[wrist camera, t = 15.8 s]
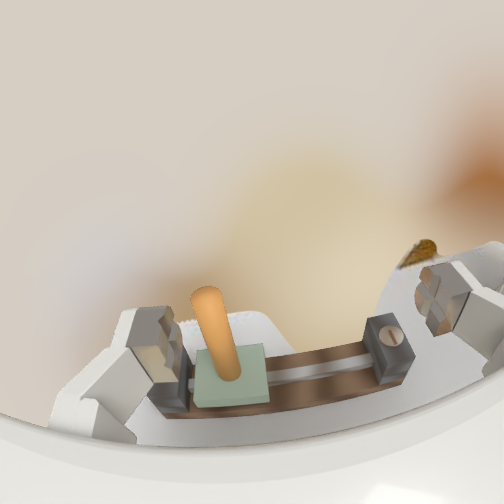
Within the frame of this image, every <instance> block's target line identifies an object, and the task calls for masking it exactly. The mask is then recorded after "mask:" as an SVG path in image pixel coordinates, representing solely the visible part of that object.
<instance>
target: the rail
mask: <svg viewBox="0 0 504 504" xmlns="http://www.w3.org/2000/svg"><path fill="white" fill-rule="evenodd" d="M415 357H416V356H415V354H414V352H413V350H412V348H411V346H410V344H409V342H408V340H407V338H406V336H405V334H404V332H403V331H402V329H401V327H400V325H399V323H398V321H397V319H396V318H395V316H394V314H393V313H388V314H384V315H380V316H375V317H371V318H367V322H366V327H365V332H364V335H363V339H362V341H360V342H355V343H351V344H346V345H341V346H336V347H331V348H326V349H320V350H315V351H309V352H303V353H297V354H291V355H284V356H277V357H270V358H265V364H266V373H267V381H268V390H269V398H270V402H265V403H257V404H247V405H236V406H222V407H204V408H198V407H197V406H196V404H195V403H194V401H193V397H194V381H195V367H196V365H193V364H192V362H191V360H190V358H189V356H188V354H187V352H186V350H185V348H184V346H183V348H182V353H181V355H180V356H179V357H178V360H179V362H180V364H181V365H180V374H179V382H161V383H153V384H154V385H153V386H152V387H151V389H150V390H149V391H148V393H147V397H148V398H149V399H150V400H151V401H152V403H153V404H154V405H155V406H156V407H157V408H158V410H159V411H160V412H161V413H162V414H163V415H164V416H165V418H166V419H199V418H222V417H237V416H249V415H258V414H267V413H275V412H282V411H289V410H296V409H302V408H308V407H313V406H318V405H323V404H328V403H333V402H338V401H342V400H347V399H351V398H355V397H359V396H363V395H367V394H370V393H374V392H378V391H381V390H384V389H388V388H391V387H394V386H398V385H401V384H402V382H403V380H404V378H405V376H406V374H407V372H408V370H409V369H410V367H411V365H412V363H413V361H414V359H415Z"/></svg>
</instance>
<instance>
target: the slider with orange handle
mask: <svg viewBox="0 0 504 504" xmlns="http://www.w3.org/2000/svg"><path fill="white" fill-rule="evenodd" d="M190 301H191V304H192V307H193V310H194V312H195V315H196V318H197V321H198V324H199V326H200V329H201V332H202V335H203V337H204V340H205V342H206V345H207V348H208V349H206V350H197V354H196V367H195V381H194V397H193V401H194V403H195V404H196V406H197V407H198V408H204V407H222V406H236V405H247V404H257V403H265V402H270V398H269V390H268V381H267V373H266V364H265V356H264V348H263V343H262V344H254V345H246V346H237V347H235V344H234V341H233V337H232V333H231V329H230V326H229V322H228V318H227V314H226V310H225V307H224V303H223V299H222V295H221V291H220V290H219V289H218V288H216V287H213V286H205V287H202V288H199V289H197V290H196V291H194V292H193V294H192V295H191V297H190Z"/></svg>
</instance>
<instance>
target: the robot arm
mask: <svg viewBox="0 0 504 504" xmlns="http://www.w3.org/2000/svg"><path fill="white" fill-rule="evenodd" d="M419 278H420V280H421V283H420V284H419V285H418V286H417V287H416V291H415V304H416V307H417V309H418V311H419V313H420V314H421V315H423V316H425V317H426V324H427V326H428V328H429V329H430V331H431V333H432V334H433V336H434V337H435V336H439V335H442V334H445V333H448V332H451V331H453V333H454V334H455V335H457V336H458V337H459V338H461V339H462V340H463V341H465V342H466V343H467V344H469V345H470V346H471V347H473V348H474V349H475V350H476V351H478V352H479V353H480V354H482V355H483V356H484V357H486V358H487V359H488V362H487V363H486V364H485V366H484V367H483V369H482V373H483V375H484V378H482V379H480V380H478V381H476V382H474V383H472V384H470V385H468V386H466V387H464V388H462V389H460V390H458V391H456V392H454V393H451V394H449V395H447V396H445V397H442V398H440V399H438V400H435V401H433V402H430V403H428V404H425V405H423V406H420V407H418V408H415V409H412V410H409V411H407V412H404V413H401V414H398V415H395V416H392V417H389V418H386V419H383V420H379V421H376V422H372V423H369V424H365V425H362V426H358V427H354V428H350V429H346V430H342V431H338V432H333V433H328V434H324V435H319V436H313V437H308V438H302V439H296V440H289V441H282V442H275V443H266V444H256V445H244V446H229V447H166V446H150V445H138V444H136V441H137V437H136V436H135V434H134V433H132V432H131V431H130V430H129V429H128V428H126V427H125V426H124V424H125V423H126V422H127V420H128V419H129V418H130V416H131V415H132V413H133V412H134V411H135V409H136V408H137V407H138V405H139V404H140V402H141V401H142V400H143V398H144V397H145V396H146V394H147V393H148V391H149V390H150V389H151V387H152V386H153V385H154V384H153V383H161V382H179V374H180V365H181V364H180V362H179V360H178V357H179V356H180V355H181V353H182V348H183V342H182V334H181V330H180V328H179V325H178V324H177V323H175V322H173V318H174V313H173V311H172V309H171V307H169V306H157V307H142V308H130V309H125V310H123V311H122V313H121V316H120V319H119V321H118V324H117V327H116V330H115V333H114V336H113V339H112V342H111V345H110V348H105V349H104V350H103V351H102V352H101V353H100V354H99V355H97V356H96V357H95V358H94V359H93V360H92V361H91V362H90V363H89V364H88V365H87V366H86V367H85V368H84V369H83V370H82V371H81V372H79V373H78V374H77V375H76V376H75V377H74V378H73V379H72V380H71V381H70V382H69V383H68V384H67V385H66V386H65V387H64V388H63V389H62V390H61V391H60V392H59V393H58V395H57V398H56V401H55V404H54V407H53V410H52V414H51V417H50V420H49V424H48V427H47V428H45V427H42V426H38V425H35V424H31V423H28V422H25V421H21V420H19V419H16V418H13V417H10V416H7V415H5V414H2V413H0V504H504V282H503V283H502V284H501V285H500V287H499V288H498V289H497V290H496V291H494V290H492V289H490V288H488V287H483V286H482V285H481V284H480V283H479V281H478V280H477V279H476V278H475V277H474V276H473V275H472V273H471V272H470V271H469V270H468V269H467V268H466V267H465V266H464V265H463V263H462V262H461V261H459V260H453V261H449V262H446V263H441V264H437V265H432V266H428V267H424V268H423V269H422V271H421V273H420V277H419ZM503 281H504V280H503Z"/></svg>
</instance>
